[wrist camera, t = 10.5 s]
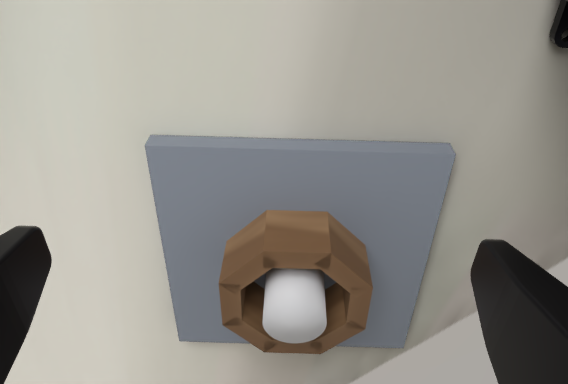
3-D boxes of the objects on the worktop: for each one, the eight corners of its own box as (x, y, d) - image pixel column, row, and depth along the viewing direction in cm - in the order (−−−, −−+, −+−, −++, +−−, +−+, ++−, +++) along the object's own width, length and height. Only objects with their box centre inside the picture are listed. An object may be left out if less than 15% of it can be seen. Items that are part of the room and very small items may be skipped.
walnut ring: (370, 212, 23) (379, 254, 20) (354, 310, 27) (360, 354, 24) (224, 208, 23) (215, 250, 20) (231, 307, 27) (224, 351, 25)
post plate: (449, 143, 22) (485, 208, 17) (400, 334, 30) (416, 409, 26) (150, 135, 22) (116, 197, 18) (182, 328, 30) (164, 401, 26)
